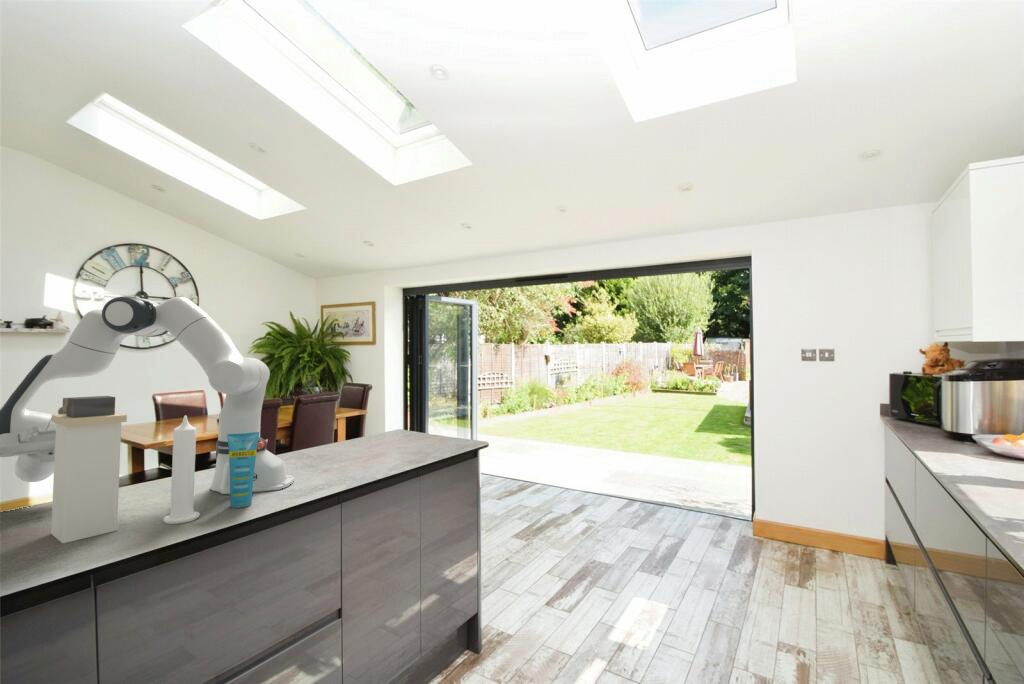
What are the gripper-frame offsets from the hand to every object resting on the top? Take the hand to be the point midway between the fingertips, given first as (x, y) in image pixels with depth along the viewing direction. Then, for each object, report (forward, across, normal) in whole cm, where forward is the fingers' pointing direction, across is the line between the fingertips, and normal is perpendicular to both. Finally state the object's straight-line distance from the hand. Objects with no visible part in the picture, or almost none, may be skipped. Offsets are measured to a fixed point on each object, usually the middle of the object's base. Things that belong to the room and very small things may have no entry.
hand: (60, 427), depth 117 cm
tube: (+16, +29, +34) cm, 48 cm away
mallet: (+17, 0, +4) cm, 18 cm away
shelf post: (+9, 0, +30) cm, 31 cm away
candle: (+15, +16, +34) cm, 40 cm away
